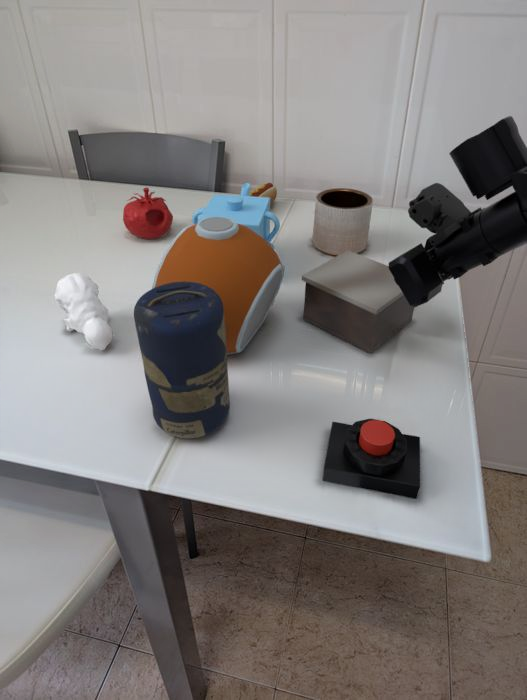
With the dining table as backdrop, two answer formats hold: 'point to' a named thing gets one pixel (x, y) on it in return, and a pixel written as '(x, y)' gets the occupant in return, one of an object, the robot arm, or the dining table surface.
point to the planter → (342, 220)
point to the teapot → (242, 212)
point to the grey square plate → (356, 281)
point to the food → (265, 192)
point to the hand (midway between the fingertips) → (396, 281)
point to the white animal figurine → (84, 309)
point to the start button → (376, 437)
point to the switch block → (373, 462)
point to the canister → (184, 357)
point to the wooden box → (355, 318)
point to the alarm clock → (227, 272)
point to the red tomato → (147, 216)
